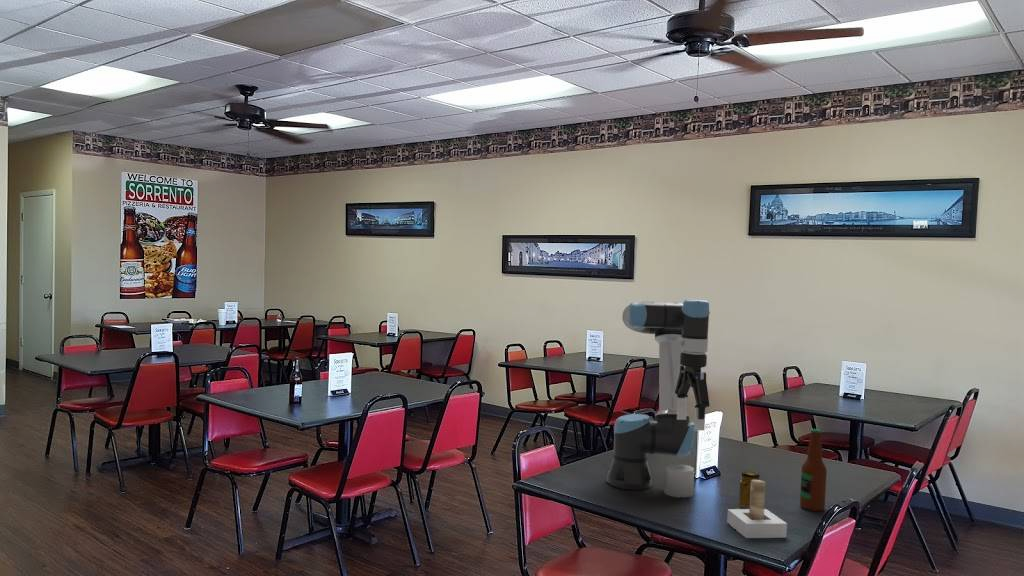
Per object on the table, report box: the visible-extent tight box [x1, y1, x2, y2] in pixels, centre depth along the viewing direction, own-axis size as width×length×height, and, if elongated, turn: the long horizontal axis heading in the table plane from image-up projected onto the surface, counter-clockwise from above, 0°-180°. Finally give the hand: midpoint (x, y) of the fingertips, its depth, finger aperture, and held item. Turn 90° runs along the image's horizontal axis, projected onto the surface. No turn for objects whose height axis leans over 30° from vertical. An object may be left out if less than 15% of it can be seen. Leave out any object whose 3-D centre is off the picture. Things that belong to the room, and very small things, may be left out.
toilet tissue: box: [663, 463, 695, 499], centre depth 241 cm, size 9×13×9 cm
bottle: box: [799, 428, 828, 512], centre depth 230 cm, size 7×7×25 cm
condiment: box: [738, 470, 761, 509], centre depth 223 cm, size 7×8×12 cm
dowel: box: [749, 480, 767, 520], centre depth 208 cm, size 4×4×14 cm
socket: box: [726, 508, 788, 539], centre depth 208 cm, size 12×12×4 cm
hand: (690, 424), depth 212 cm, fingers open, 13 cm apart
